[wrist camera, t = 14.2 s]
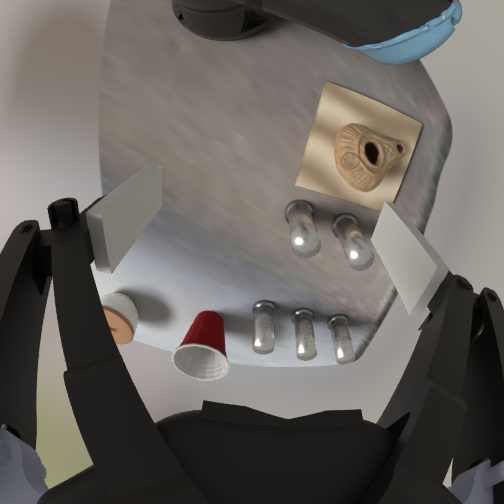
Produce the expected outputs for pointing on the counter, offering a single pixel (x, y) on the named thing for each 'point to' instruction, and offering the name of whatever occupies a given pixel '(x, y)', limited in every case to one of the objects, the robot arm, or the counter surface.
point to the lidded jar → (120, 316)
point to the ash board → (323, 136)
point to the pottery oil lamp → (365, 156)
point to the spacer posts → (264, 311)
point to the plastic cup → (203, 349)
